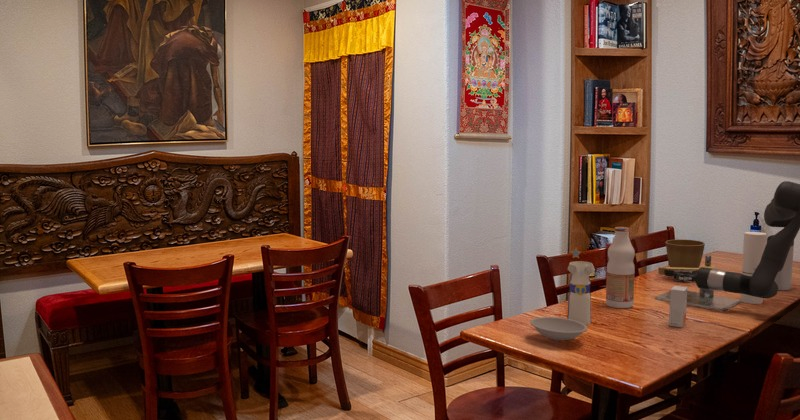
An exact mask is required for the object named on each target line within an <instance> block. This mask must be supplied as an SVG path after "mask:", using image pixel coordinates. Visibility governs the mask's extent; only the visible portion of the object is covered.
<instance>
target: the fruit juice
mask: <svg viewBox="0 0 800 420" xmlns="http://www.w3.org/2000/svg"><path fill="white" fill-rule="evenodd" d="M614 233H615V234H614V237H613V240H612V242H611V244H610V245H609V247H608V249H607V257H608V262H607V265H606V281H605V286H606V288H605V305H607V306H608V307H610V308H614V309H615V308H617V309H630V308H632V307H633V306H634V301H635V300H634V295H635V273H636V271H635V269H636V268H635V267H636V266H635V264H634V259H635V254H636V252H635V248H634V247H633V244H632V242H631V239H630V236H629V233H630V228H629V227H626V226H615V227H614Z"/></svg>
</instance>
